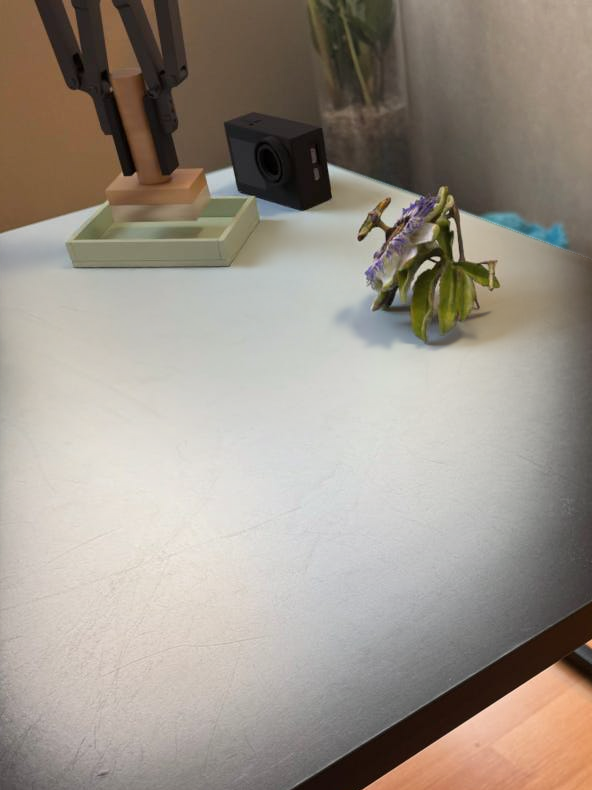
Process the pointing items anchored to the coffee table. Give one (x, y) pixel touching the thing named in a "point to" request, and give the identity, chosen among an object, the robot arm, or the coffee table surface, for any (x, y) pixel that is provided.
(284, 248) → the coffee table surface
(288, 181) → the digital camera
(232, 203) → the tray
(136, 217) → the brush
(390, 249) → the passion flower
